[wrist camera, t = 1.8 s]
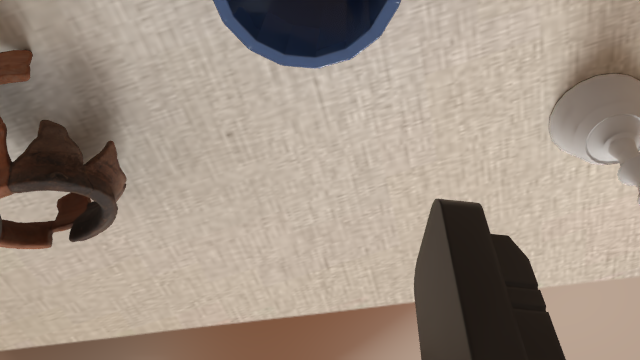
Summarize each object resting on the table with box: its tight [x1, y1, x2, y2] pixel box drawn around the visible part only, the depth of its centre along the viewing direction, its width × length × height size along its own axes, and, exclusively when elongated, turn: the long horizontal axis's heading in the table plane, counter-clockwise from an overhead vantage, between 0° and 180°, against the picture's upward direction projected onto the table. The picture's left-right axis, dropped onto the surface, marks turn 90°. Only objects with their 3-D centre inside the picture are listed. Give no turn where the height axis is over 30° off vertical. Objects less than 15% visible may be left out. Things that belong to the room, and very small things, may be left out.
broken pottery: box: [0, 50, 126, 249], centre depth 28 cm, size 12×10×8 cm
